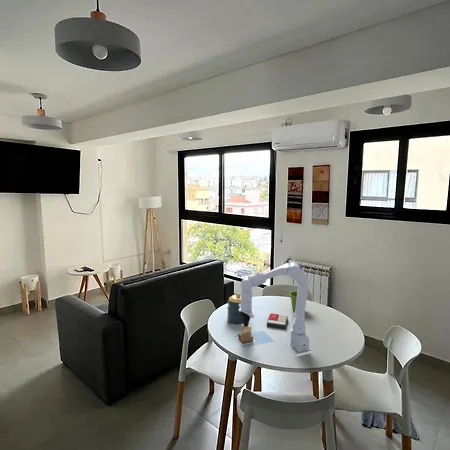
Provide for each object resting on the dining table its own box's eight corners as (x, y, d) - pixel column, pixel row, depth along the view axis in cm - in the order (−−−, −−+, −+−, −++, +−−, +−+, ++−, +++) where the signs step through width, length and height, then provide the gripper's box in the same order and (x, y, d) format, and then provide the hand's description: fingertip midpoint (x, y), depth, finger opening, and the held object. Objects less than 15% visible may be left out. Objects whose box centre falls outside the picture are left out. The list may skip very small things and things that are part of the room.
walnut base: (253, 341, 157) (253, 336, 157) (242, 343, 155) (242, 338, 155) (248, 336, 163) (248, 331, 162) (238, 338, 161) (238, 332, 160)
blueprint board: (274, 342, 159) (274, 340, 158) (243, 348, 152) (243, 346, 152) (263, 332, 170) (263, 330, 170) (234, 337, 163) (234, 335, 163)
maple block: (251, 335, 158) (251, 326, 157) (244, 337, 156) (244, 327, 155) (247, 332, 161) (248, 323, 161) (241, 333, 160) (241, 324, 159)
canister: (225, 324, 179) (225, 296, 176) (229, 315, 191) (230, 288, 189) (246, 327, 176) (247, 298, 173) (250, 317, 188) (250, 290, 186)
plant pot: (285, 308, 203) (285, 292, 201) (299, 305, 208) (299, 290, 206) (296, 315, 192) (297, 298, 191) (310, 312, 197) (311, 295, 196)
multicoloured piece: (287, 314, 185) (285, 324, 171) (287, 321, 186) (285, 331, 171) (270, 312, 188) (266, 321, 174) (269, 319, 189) (266, 328, 174)
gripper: (233, 296, 161) (233, 320, 163) (245, 307, 148) (244, 333, 150) (245, 295, 164) (245, 318, 166) (257, 305, 150) (257, 330, 152)
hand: (245, 325), depth 158 cm, fingers closed
